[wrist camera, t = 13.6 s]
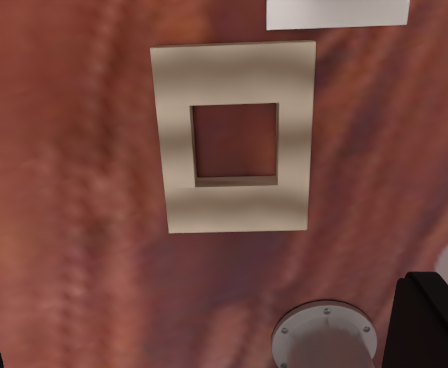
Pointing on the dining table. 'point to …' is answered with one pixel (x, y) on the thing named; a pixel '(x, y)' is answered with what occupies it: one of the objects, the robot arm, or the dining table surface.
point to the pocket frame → (235, 94)
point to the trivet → (334, 13)
